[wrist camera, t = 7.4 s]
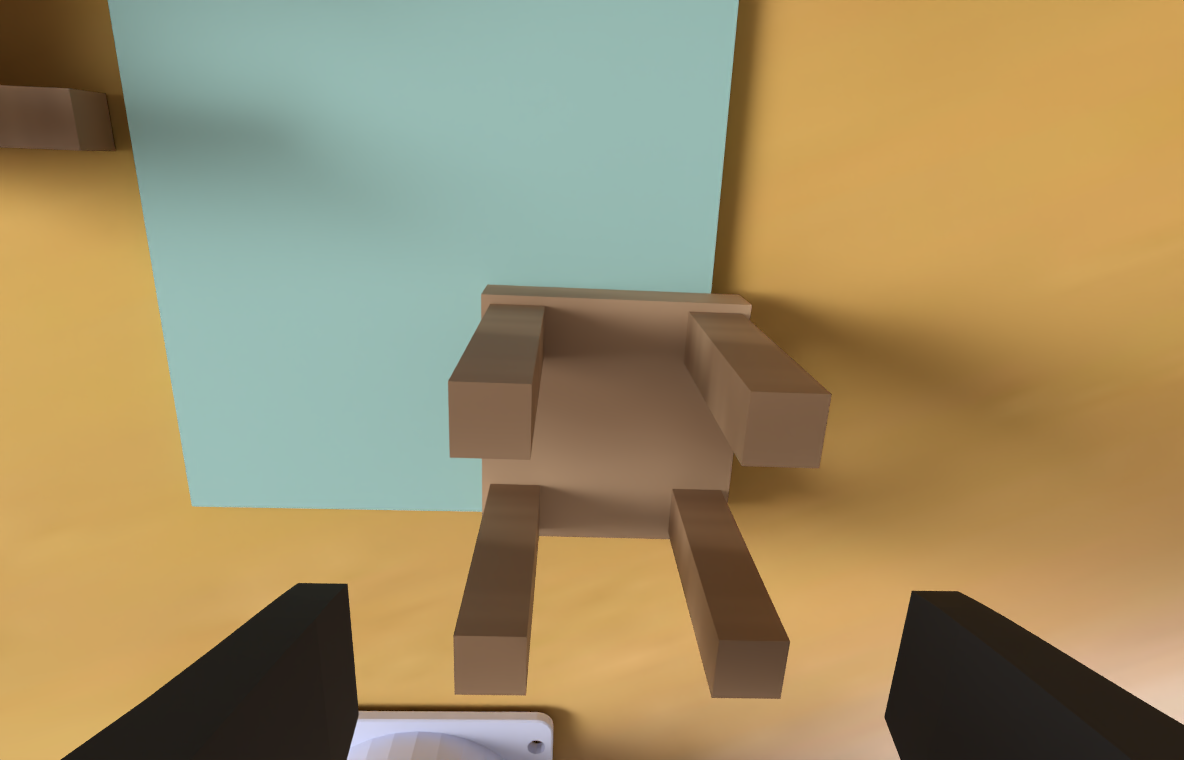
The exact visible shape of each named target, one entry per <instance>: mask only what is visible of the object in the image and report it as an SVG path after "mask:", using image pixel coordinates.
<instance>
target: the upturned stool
mask: <svg viewBox="0 0 1184 760" xmlns="http://www.w3.org/2000/svg"><path fill="white" fill-rule="evenodd" d="M751 308H752V305H751V304H750V303H749V302H747V301H746V300H745V299H744V298H742V297H741V296H740V295H736V294H711V293H686V292H661V291H636V290H612V289H587V288H562V287H537V286H512V285H488V284H487V286H486V287H485V289H484V290H483V292H482V294H481V322H480V323H479V325H478V327H477V329H476V331H475V333H474V334H473V336H472V338H471V340H470V342H469V344H468V345H467V347H466V349H465V351H464V353H463V355H462V356H461V358H460V360H459V362H458V364H457V366H456V367H455V369H454V371H453V373H452V375H451V377H450V378H449V380H448V407H449V452H450V458H479V459H482V520H481V525H480V529H479V533H478V537H477V541H476V545H475V549H474V553H473V557H472V562H471V566H470V570H469V574H468V578H467V582H466V586H465V590H464V595H463V599H462V603H461V607H460V611H459V615H458V619H457V623H456V628H455V632H454V681H455V694H459V695H526V686H527V674H528V662H529V649H530V637H531V625H532V613H533V600H534V588H535V576H536V563H537V551H538V539H539V536H561V537H604V538H646V539H670V541H671V545H672V549H673V553H674V556H675V560H676V564H677V568H678V572H679V575H680V579H681V583H682V587H683V591H684V594H685V598H686V602H687V606H688V609H689V613H690V617H691V621H692V625H693V628H694V632H695V636H696V640H697V644H698V647H699V651H700V655H701V659H702V663H703V666H704V670H705V674H706V678H707V682H708V685H709V689H710V693H711V697H712V698H767V699H780V698H781V692H782V686H783V680H784V674H785V668H786V662H787V656H788V650H789V644H790V640H789V638H788V636H787V634H786V632H785V629H784V627H783V625H782V623H781V621H780V618H779V616H778V614H777V612H776V610H775V607H774V605H773V603H772V601H771V599H770V597H769V594H768V592H767V590H766V588H765V586H764V583H763V581H762V579H761V577H760V575H759V572H758V570H757V568H756V566H755V564H754V561H753V559H752V557H751V555H750V553H749V550H748V548H747V546H746V544H745V542H744V540H743V537H742V535H741V533H740V531H739V529H738V526H737V524H736V522H735V520H734V518H733V515H732V513H731V511H730V509H729V507H728V504H727V503H728V494H729V486H730V478H731V470H732V462H733V454H735V455H736V457H737V459H738V461H739V463H740V464H741V466H757V467H792V468H819V466H820V460H821V454H822V448H823V442H824V436H825V430H826V424H827V418H828V412H829V406H830V401H831V395H832V394H831V393H830V392H828V391H827V390H826V389H825V388H824V387H823V386H822V385H821V384H820V383H818V382H817V381H816V380H815V379H814V378H813V377H812V376H811V375H810V374H808V373H807V372H806V371H805V370H804V369H803V368H802V367H801V366H800V365H798V364H797V363H796V362H795V361H794V360H793V359H792V358H791V357H790V356H789V355H787V354H786V353H785V352H784V351H783V350H782V349H781V348H780V347H779V346H777V345H776V344H775V343H774V342H773V341H772V340H771V339H770V338H769V337H767V336H766V335H765V334H764V333H763V332H762V331H761V330H760V329H759V328H757V327H756V326H755V325H754V324H753V323H752V322H751V321H750V316H751Z"/></svg>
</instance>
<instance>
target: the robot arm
mask: <svg viewBox="0 0 1184 760" xmlns="http://www.w3.org/2000/svg"><path fill="white" fill-rule="evenodd" d="M885 720H886V723H887V725H888V728H889V731H890V733H891V736H892V738H893V741H894V744H895V746H896V749H897V751H898V754H899V757H900V759H901V760H1184V725H1183V724H1181V723H1179V722H1178V721H1176V720H1174V719H1173V718H1171V717H1169V716H1167V715H1166V714H1164V713H1162V712H1161V711H1159V710H1157V709H1156V708H1154V707H1152V706H1151V705H1149V704H1147V703H1146V702H1144V701H1142V700H1141V699H1139V698H1137V697H1136V696H1134V695H1132V694H1131V693H1129V692H1127V691H1126V690H1124V689H1122V688H1121V687H1119V686H1118V685H1116V684H1114V683H1113V682H1111V681H1109V680H1108V679H1106V678H1104V677H1103V676H1101V675H1099V674H1098V673H1096V672H1095V671H1093V670H1091V669H1090V668H1088V667H1086V666H1085V665H1083V664H1081V663H1080V662H1078V661H1077V660H1075V659H1073V658H1072V657H1070V656H1068V655H1067V654H1065V653H1063V652H1062V651H1060V650H1059V649H1057V648H1055V647H1054V646H1052V645H1050V644H1049V643H1047V642H1046V641H1044V640H1042V639H1041V638H1039V637H1037V636H1036V635H1034V634H1032V633H1031V632H1029V631H1027V630H1026V629H1024V628H1022V627H1021V626H1019V625H1017V624H1016V623H1014V622H1012V621H1011V620H1009V619H1007V618H1006V617H1004V616H1002V615H1001V614H999V613H997V612H995V611H994V610H992V609H990V608H988V607H987V606H985V605H983V604H981V603H979V602H978V601H976V600H974V599H972V598H970V597H968V596H966V595H964V594H962V593H960V592H958V591H912V593H911V597H910V602H909V607H908V611H907V616H906V620H905V625H904V629H903V634H902V639H901V643H900V648H899V652H898V657H897V662H896V666H895V671H894V675H893V680H892V685H891V689H890V694H889V698H888V703H887V708H886V712H885ZM536 740H537V741H541V743H533V742H532V741H536ZM61 760H553V721H552V719H551V718H550V717H549V716H548V715H546V714H544V713H540V712H444V711H358V700H357V688H356V677H355V665H354V654H353V642H352V631H351V619H350V608H349V596H348V585H347V584H320V583H298V584H296V585H295V586H293V587H292V588H291V589H289V590H288V591H286V592H285V593H284V594H282V595H281V596H280V597H278V598H277V599H276V600H274V601H273V602H272V603H270V604H269V605H268V606H267V607H265V608H264V609H263V610H261V611H260V612H259V613H258V614H256V615H255V616H254V617H252V618H251V619H250V620H249V621H247V622H246V623H245V624H243V625H242V626H241V627H240V628H238V629H237V630H236V631H234V632H233V633H232V634H231V635H229V636H228V637H227V638H226V639H224V640H223V641H222V642H220V643H219V644H218V645H217V646H215V647H214V648H213V649H211V650H210V651H209V652H207V653H206V654H205V655H203V656H202V657H201V658H200V659H198V660H197V661H196V662H194V663H193V664H192V665H190V666H189V667H188V668H186V669H185V670H184V671H182V672H181V673H180V674H179V675H177V676H176V677H175V678H173V679H172V680H171V681H169V682H168V683H167V684H165V685H164V686H163V687H161V688H160V689H159V690H158V691H156V692H155V693H154V694H152V695H151V696H150V697H148V698H147V699H146V700H144V701H143V702H141V703H140V704H139V705H137V706H136V707H134V708H133V709H132V710H130V711H129V712H127V713H126V714H125V715H123V716H122V717H120V718H119V719H117V720H116V721H115V722H113V723H112V724H110V725H109V726H108V727H106V728H105V729H103V730H102V731H100V732H99V733H98V734H96V735H95V736H93V737H92V738H91V739H89V740H88V741H86V742H85V743H84V744H82V745H81V746H79V747H78V748H76V749H75V750H74V751H72V752H71V753H69V754H68V755H67V756H65V757H64V758H62V759H61Z"/></svg>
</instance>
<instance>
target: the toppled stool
mask: <svg viewBox="0 0 1184 760" xmlns="http://www.w3.org/2000/svg"><path fill="white" fill-rule="evenodd" d="M0 147H5V148H31V149H56V150H84V151H116V150H115V145H114V139H113V133H112V127H111V122H110V116H109V110H108V104H107V99H106V94H105V93H98V92H91V91H84V90H77V89H70V88H51V87H29V86H7V85H0Z"/></svg>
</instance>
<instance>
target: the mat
mask: <svg viewBox="0 0 1184 760" xmlns="http://www.w3.org/2000/svg"><path fill="white" fill-rule="evenodd" d="M738 4H739V0H108V6H109V12H110V18H111V24H112V30H113V36H114V42H115V48H116V54H117V60H118V66H119V72H120V78H121V83H122V89H123V95H124V101H125V107H126V113H127V119H128V125H129V131H130V137H131V143H132V149H133V155H134V161H135V167H136V173H137V179H138V185H139V191H140V197H141V203H142V209H143V215H144V221H145V227H146V233H147V239H148V245H149V251H150V257H151V263H152V269H153V275H154V281H155V287H156V293H157V299H158V305H159V311H160V317H161V323H162V329H163V335H164V341H165V347H166V353H167V359H168V365H169V371H170V377H171V383H172V389H173V395H174V401H175V407H176V413H177V419H178V425H179V431H180V437H181V443H182V449H183V455H184V461H185V467H186V473H187V479H188V485H189V491H190V497H191V503H192V506H201V507H257V508H312V509H367V510H423V511H478V512H482V459H479V458H450V452H449V407H448V380H449V378H450V377H451V375H452V373H453V371H454V369H455V367H456V366H457V364H458V362H459V360H460V358H461V356H462V355H463V353H464V351H465V349H466V347H467V345H468V344H469V342H470V340H471V338H472V336H473V334H474V333H475V331H476V329H477V327H478V325H479V323H480V322H481V294H482V292H483V290H484V289H485V287H486V286H487V284H488V285H512V286H537V287H562V288H587V289H612V290H636V291H661V292H686V293H711V288H712V278H713V267H714V257H715V246H716V235H717V225H718V214H719V204H720V193H721V183H722V172H723V162H724V151H725V141H726V130H727V120H728V109H729V99H730V88H731V78H732V67H733V57H734V46H735V36H736V25H737V15H738Z"/></svg>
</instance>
